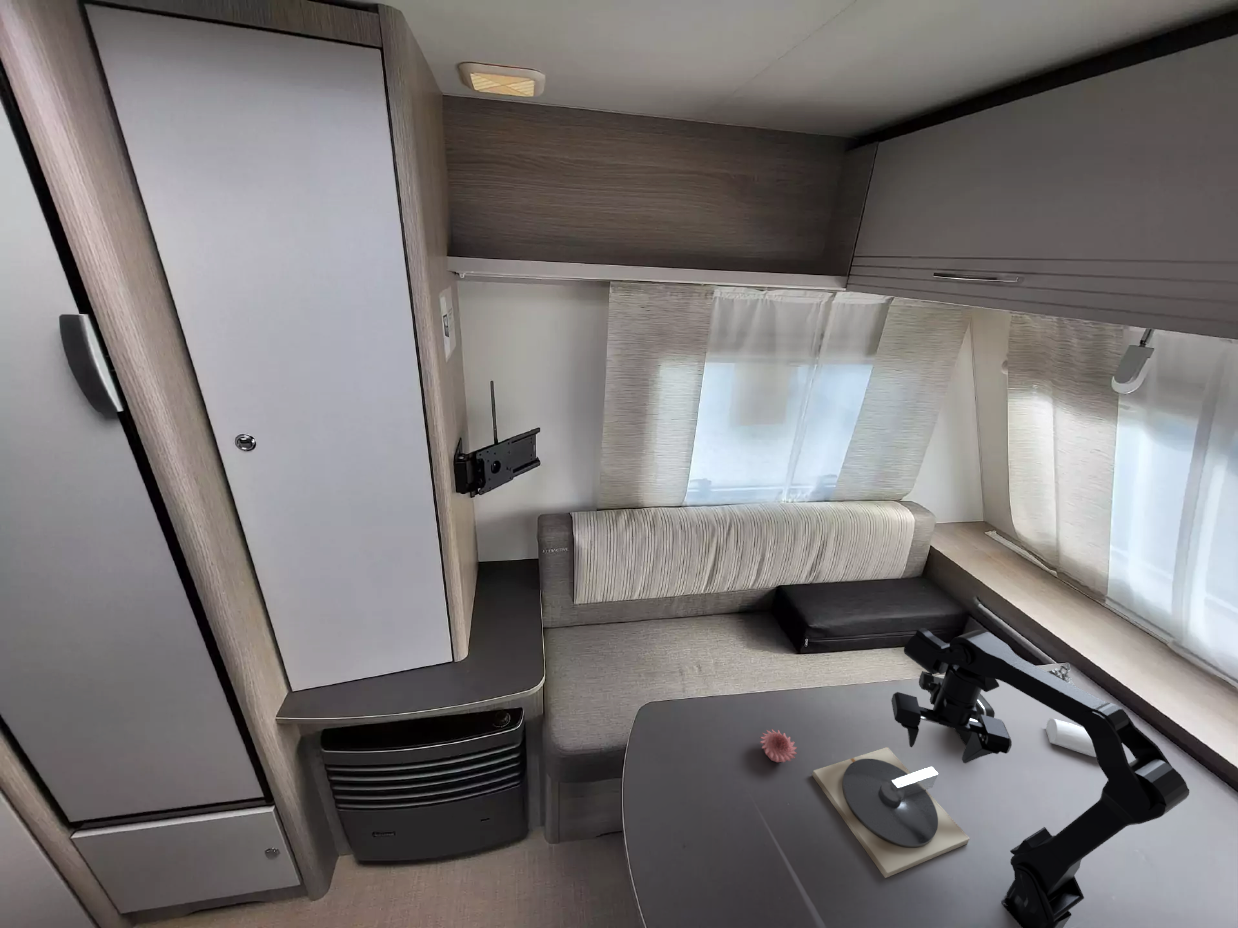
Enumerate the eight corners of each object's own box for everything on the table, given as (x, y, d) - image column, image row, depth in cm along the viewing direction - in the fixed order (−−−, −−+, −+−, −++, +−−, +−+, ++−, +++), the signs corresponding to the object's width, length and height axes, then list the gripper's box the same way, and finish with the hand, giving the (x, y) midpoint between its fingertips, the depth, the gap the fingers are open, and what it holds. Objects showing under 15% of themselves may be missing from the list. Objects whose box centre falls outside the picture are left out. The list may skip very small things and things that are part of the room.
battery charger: (983, 749, 116) (1000, 712, 111) (966, 748, 116) (983, 711, 111) (963, 723, 122) (979, 687, 118) (948, 722, 122) (963, 686, 118)
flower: (786, 739, 115) (790, 722, 113) (800, 773, 108) (805, 754, 105) (752, 740, 114) (756, 722, 112) (763, 774, 107) (768, 755, 105)
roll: (1116, 771, 112) (1127, 753, 110) (1050, 748, 117) (1059, 730, 115) (1106, 749, 118) (1116, 732, 115) (1043, 728, 122) (1052, 711, 120)
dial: (887, 860, 91) (895, 841, 89) (824, 774, 106) (829, 756, 104) (964, 828, 97) (973, 810, 95) (894, 751, 112) (901, 734, 110)
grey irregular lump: (1019, 676, 138) (1030, 654, 135) (1040, 669, 141) (1050, 648, 138) (1055, 702, 130) (1067, 679, 127) (1076, 694, 133) (1088, 672, 130)
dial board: (967, 843, 96) (970, 837, 96) (885, 877, 90) (887, 872, 89) (885, 751, 114) (887, 746, 113) (812, 775, 107) (813, 769, 107)
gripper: (1003, 675, 98) (979, 735, 103) (897, 649, 104) (879, 707, 109) (1025, 720, 88) (997, 783, 94) (905, 688, 94) (886, 750, 99)
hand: (936, 752), depth 99 cm, fingers open, 9 cm apart
